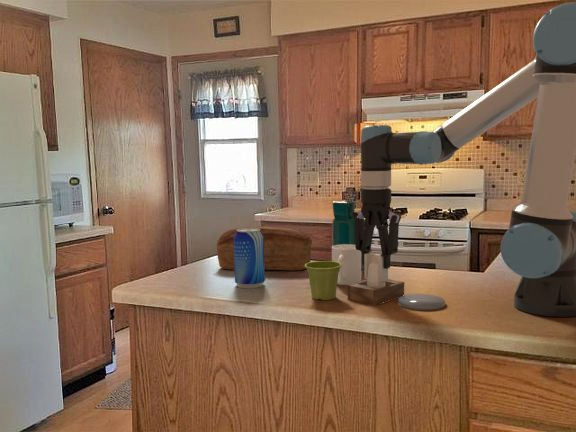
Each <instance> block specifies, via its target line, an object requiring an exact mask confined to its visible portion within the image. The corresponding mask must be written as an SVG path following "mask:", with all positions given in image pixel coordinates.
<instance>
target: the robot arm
mask: <svg viewBox="0 0 576 432" xmlns="http://www.w3.org/2000/svg"><path fill="white" fill-rule="evenodd" d="M532 45H533V50H534V52H535V57H534V59H533V60H532V61H530V62H529V63H527V64H526V65H524V66H523V67H521V68H520V69H518V70H517V71H516V72H514V73H513V74H512V75H510V76H509V77H507V78H506V79H504V80H503V81H502V82H501V83H498V85H496V86H495V87H493V88H492V89H490V90H489V91H487V92H486V93H484V94H483V95H482V96H480V97H479V98H478V99H476V100H475V101H473V102H472V103H471V104H469V105H468V106H467V107H465V108H464V109H462V110H461V111H459V112H458V113H456V114H455V115H453V116H452V117H451V118H449V119H447V120H446V121H445V122H443V123H442V124H441V125H440V126H438V127H437V128H435V129H433V130H432V131H426V130H425V131H412V132H393V130H392V126H390V125H389V124H388V125H387V124H384V125H383V124H378V125H375V124H374V125H373V124H372V125H365V126H363V127H362V129H361V132H360V144H359V146H360V164H361V165H360V166H361V167H360V187H362V188H361V190H360V202H361V204H362V205H361V208H360V210H358V211H355V212H353V213H352V215H353V218H354V223H355V248H356V250H360V251H361V252H362V264H363V265H364V274H363V275H364V280H367V278H368V268H369V264H371V255H372V254H374V252H373V250H372V243H373V237H374V231H375V227H376V229H377V231H378V237H379V243H380V244H379V245H380V251H381V254H380V255H381V256H379V282H383V281H387V280H388V279H389V269H390V268H391V256H392V255H394V254H398V251H399V231H400V230H399V229H400V228H399V225H400V222H401V218H402V215H401V214H396V213H394V212H393V210H392V207H391V203H392V189H391V188H390V187H391V186H392V165H397V164H398V165H421V166H422V165H428V164H429V165H431V164H441V163H444V162H447V161H448V160H450V159H451V158H452V157H453V156H454V155H455V154H456V153H455V152H457V151H458V150H460V149H461V148H463V147H464V146H467V144H469V143H470V142H472V141H474V140H475V139H477V138H479V137H480V136H482V135H483V134H484V133H486V132H488V131H489V130H490V129H492V128H493V127H495V126H496V125H498V124H499V123H501V122H502V121H504V120H506V119H507V118H509V117H510V116H512V115H513V114H515V113H516V112H518V111H519V110H521V109H523V108H524V107H525V106H527V105H528V104H530V103H532V102H534V101H535V100H536V99H537V102H536V107H535V112H534V113H535V114H534V120H533V127H532V132H531V138H530V145H529V151H528V157H527V164H526V169H525V174H524V175H525V177H524V184H523V189H522V194H521V201H520V202H519V203H518V204H516V205H514V206H513V207H512V209H511V215H510V220H509V225H508V226H509V227H508V229H507V230H506V232H505V233H504V235H503V237H502V239H501V242H500V254H501V255H500V256H501V258H502V261H503V262H504V264H505V265H506V266H507V267H508V269H509V270H511V271H512V272H513V273H514V274H517V275H518V276H520V277H521V278H520V279H519V282H518V285H517V286H516V289H515V292H514V295H513V307H514V308H516V309H517V310H519V311H522V312H525V313H528V314H533V315H538V316H544V317H556V318H569V317H570V318H571V317H576V211H575V210H572V211H571V210H569V209H568V207H567V205H568V199H569V194H570V188H571V183H572V182H571V181H572V177H573V171H574V166H575V159H576V2H575V1H574V2H573V1H571V2H566V3H562V4H561V3H560V4H559V5H555V6H554V7H552V8H551V9H550V10H548V11H547V12H546V13H545V14H543V16H542V17H541V18H540V19H539V21H538V22H537V23H536V25H535V28H534V31H533V35H532ZM363 218H364V219H365V222H364V219H363ZM388 221H389V223H388ZM364 227H365V229H364Z"/></svg>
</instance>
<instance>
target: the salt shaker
mask: <svg viewBox="0 0 576 432" xmlns="http://www.w3.org/2000/svg"><path fill="white" fill-rule="evenodd" d="M379 256H381V254H380V253H373V254H372V255H371V264H369V268H368V278H367V279H366V280H367V286H369V287H375V288H382V287H385V286H386V285H385V281H383V282H379Z"/></svg>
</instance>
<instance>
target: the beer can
mask: <svg viewBox="0 0 576 432" xmlns="http://www.w3.org/2000/svg"><path fill="white" fill-rule="evenodd" d="M241 228H242V229H237V228H236V229H237V233H236V235H235V236H234V265H235V269H234V282H235V284H236V285H237V287H238V288H241V289H250V290H251V289H257V288H261V287H262V286H263V284H264V283H265V281H266V278H265V277H266V276H265V274H266V273H265V268H264V237H263V235H262V234H261V232H260V229H258V228H245V227H241Z"/></svg>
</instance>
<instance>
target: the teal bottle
mask: <svg viewBox="0 0 576 432" xmlns="http://www.w3.org/2000/svg"><path fill="white" fill-rule="evenodd" d="M357 204H358V201H356V200H342V201H332V212H333V217H334V218H333V219H332V246H334V245H340V244H353V245H355V223H354V218H353V215H352V213H353V212H356V211H355V210H356V209H355V205H357ZM363 219H364V222H365V218H364V217H363ZM364 229H365V227H364ZM363 270H364V265H363V264H362V252H361V272H362V271H363Z"/></svg>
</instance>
